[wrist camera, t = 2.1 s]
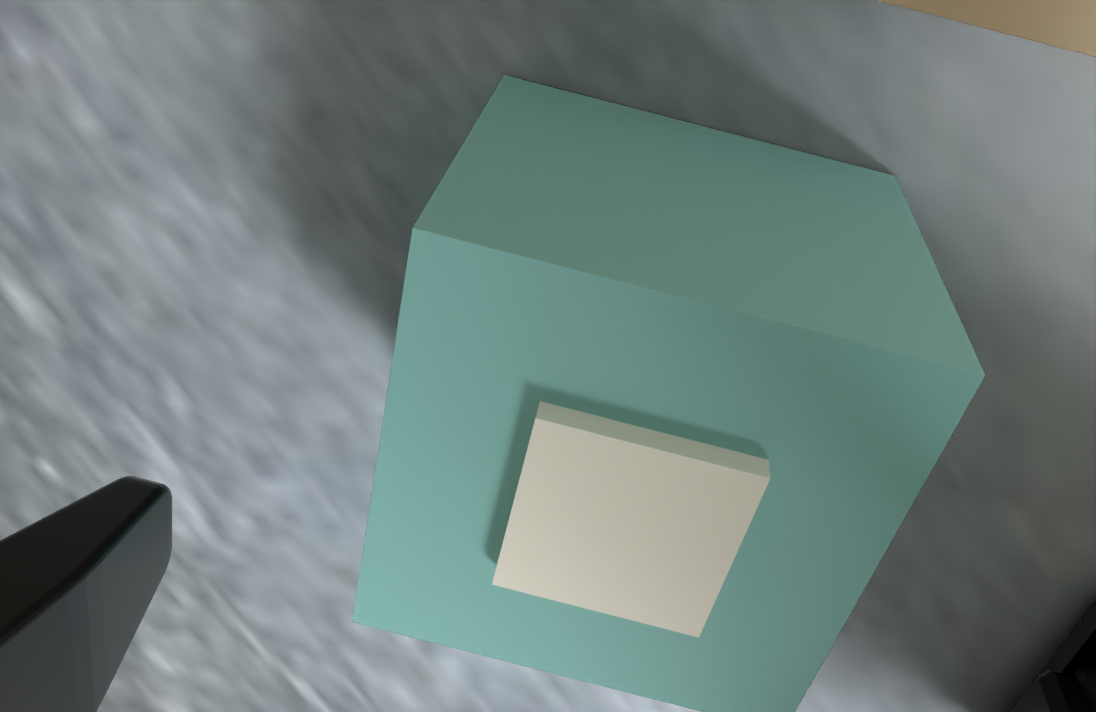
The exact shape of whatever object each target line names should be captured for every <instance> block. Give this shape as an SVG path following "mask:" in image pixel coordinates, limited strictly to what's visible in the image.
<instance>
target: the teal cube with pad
mask: <svg viewBox="0 0 1096 712" xmlns="http://www.w3.org/2000/svg"><path fill="white" fill-rule="evenodd" d="M985 376H986V375H985V373H984V371H983V369H982V366H981V364H980V362H979V360H978V357H977V355H976V353H975V351H974V349H973V346H972V344H971V342H970V340H969V337H968V335H967V333H966V331H965V329H964V326H963V324H962V322H961V320H960V318H959V315H958V313H957V311H956V309H955V306H954V304H953V302H952V300H951V298H950V295H949V293H948V291H947V289H946V286H945V284H944V282H943V280H942V278H941V275H940V273H939V271H938V269H937V266H936V264H935V262H934V260H933V258H932V255H931V253H930V251H929V249H928V246H927V244H926V242H925V240H924V238H923V235H922V233H921V231H920V229H919V226H918V224H917V222H916V220H915V218H914V215H913V213H912V211H911V209H910V207H909V204H908V202H907V200H906V198H905V195H904V193H903V191H902V189H901V187H900V184H899V182H898V180H897V178H896V176H894V175H890V174H887V173H883V172H879V171H875V170H871V169H867V168H863V167H859V166H856V165H852V164H848V163H844V162H840V161H836V160H832V159H828V158H825V157H821V156H817V155H813V154H809V153H805V152H801V151H797V150H794V149H790V148H786V147H782V146H778V145H774V144H770V143H766V142H763V141H759V140H755V139H751V138H747V137H743V136H739V135H735V134H732V133H728V132H724V131H720V130H716V129H712V128H708V127H705V126H701V125H697V124H693V123H689V122H685V121H681V120H677V119H674V118H670V117H666V116H662V115H658V114H654V113H650V112H646V111H643V110H639V109H635V108H631V107H627V106H623V105H619V104H615V103H612V102H608V101H604V100H600V99H596V98H592V97H588V96H584V95H581V94H577V93H573V92H569V91H565V90H561V89H557V88H553V87H550V86H546V85H542V84H538V83H534V82H530V81H526V80H522V79H519V78H515V77H511V76H507V75H504V76H503V78H502V79H501V81H500V83H499V84H498V86H497V88H496V89H495V91H494V93H493V94H492V96H491V98H490V99H489V101H488V103H487V104H486V106H485V108H484V109H483V111H482V113H481V114H480V116H479V118H478V119H477V121H476V123H475V124H474V126H473V128H472V129H471V131H470V133H469V134H468V136H467V138H466V139H465V141H464V143H463V144H462V146H461V148H460V149H459V151H458V153H457V154H456V156H455V158H454V159H453V161H452V163H451V164H450V166H449V168H448V169H447V171H446V173H445V174H444V176H443V178H442V179H441V181H440V183H439V184H438V186H437V188H436V189H435V191H434V193H433V194H432V196H431V198H430V199H429V201H428V203H427V204H426V206H425V208H424V209H423V211H422V213H421V214H420V216H419V218H418V219H417V221H416V223H415V224H414V226H413V228H412V234H411V241H410V247H409V254H408V260H407V267H406V273H405V280H404V286H403V293H402V299H401V306H400V312H399V319H398V325H397V332H396V339H395V345H394V352H393V358H392V365H391V371H390V378H389V384H388V391H387V397H386V404H385V410H384V417H383V423H382V430H381V436H380V443H379V450H378V456H377V463H376V469H375V476H374V482H373V489H372V495H371V502H370V508H369V515H368V521H367V528H366V534H365V541H364V547H363V554H362V561H361V567H360V574H359V580H358V587H357V593H356V600H355V606H354V613H353V619H352V622H354V623H358V624H362V625H366V626H370V627H374V628H378V629H382V630H386V631H390V632H394V633H397V634H401V635H405V636H409V637H413V638H417V639H421V640H425V641H429V642H433V643H437V644H440V645H444V646H448V647H452V648H456V649H460V650H464V651H468V652H472V653H476V654H479V655H483V656H487V657H491V658H495V659H499V660H503V661H507V662H511V663H515V664H519V665H522V666H526V667H530V668H534V669H538V670H542V671H546V672H550V673H554V674H558V675H561V676H565V677H569V678H573V679H577V680H581V681H585V682H589V683H593V684H597V685H601V686H604V687H608V688H612V689H616V690H620V691H624V692H628V693H632V694H636V695H640V696H643V697H647V698H651V699H655V700H659V701H663V702H667V703H671V704H675V705H679V706H683V707H686V708H690V709H694V710H698V711H702V712H795V711H796V709H797V707H798V705H799V704H800V702H801V700H802V698H803V697H804V695H805V693H806V691H807V690H808V688H809V686H810V684H811V683H812V681H813V679H814V677H815V675H816V674H817V672H818V670H819V668H820V667H821V665H822V663H823V661H824V660H825V658H826V656H827V654H828V653H829V651H830V649H831V647H832V645H833V644H834V642H835V640H836V638H837V637H838V635H839V633H840V631H841V630H842V628H843V626H844V624H845V623H846V621H847V619H848V617H849V615H850V614H851V612H852V610H853V608H854V607H855V605H856V603H857V601H858V600H859V598H860V596H861V594H862V593H863V591H864V589H865V587H866V585H867V584H868V582H869V580H870V578H871V577H872V575H873V573H874V571H875V570H876V568H877V566H878V564H879V563H880V561H881V559H882V557H883V556H884V554H885V552H886V550H887V548H888V547H889V545H890V543H891V541H892V540H893V538H894V536H895V534H896V533H897V531H898V529H899V527H900V526H901V524H902V522H903V520H904V518H905V517H906V515H907V513H908V511H909V510H910V508H911V506H912V504H913V503H914V501H915V499H916V497H917V496H918V494H919V492H920V490H921V488H922V487H923V485H924V483H925V481H926V480H927V478H928V476H929V474H930V473H931V471H932V469H933V467H934V466H935V464H936V462H937V460H938V458H939V457H940V455H941V453H942V451H943V450H944V448H945V446H946V444H947V443H948V441H949V439H950V437H951V436H952V434H953V432H954V430H955V428H956V427H957V425H958V423H959V421H960V420H961V418H962V416H963V414H964V413H965V411H966V409H967V407H968V406H969V404H970V402H971V400H972V398H973V397H974V395H975V393H976V391H977V390H978V388H979V386H980V384H981V383H982V381H983V379H984V377H985Z"/></svg>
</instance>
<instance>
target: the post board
mask: <svg viewBox="0 0 1096 712" xmlns="http://www.w3.org/2000/svg"><path fill="white" fill-rule="evenodd" d="M878 1H882V2H885V3H889V4H893V5H897V6H901V7H905V8H909V9H912V10H916V11H920V12H924V13H928V14H932V15H936V16H939V17H943V18H947V19H951V20H955V21H959V22H963V23H967V24H970V25H974V26H978V27H982V28H986V29H990V30H994V31H997V32H1001V33H1005V34H1009V35H1013V36H1017V37H1021V38H1025V39H1028V40H1032V41H1036V42H1040V43H1044V44H1048V45H1052V46H1055V47H1059V48H1063V49H1067V50H1071V51H1075V52H1079V53H1083V54H1086V55H1090V56H1094V57H1096V0H878Z"/></svg>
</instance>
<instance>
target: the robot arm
mask: <svg viewBox="0 0 1096 712" xmlns="http://www.w3.org/2000/svg"><path fill="white" fill-rule="evenodd" d="M171 550H172V495H171V491H170V489H169V488H168V487H167V486H166V485H164V484H161V483H157V482H153V481H149V480H146V479H142V478H138V477H134V476H127V477H123V478H120V479H118V480H116V481H114V482H112V483H110V484H108V485H106V486H104V487H102V488H100V489H98V490H96V491H95V492H93V493H91V494H89V495H87V496H85V497H83V498H81V499H79V500H77V501H75V502H73V503H72V504H70V505H68V506H66V507H64V508H62V509H60V510H58V511H56V512H54V513H52V514H50V515H48V516H47V517H45V518H43V519H41V520H39V521H37V522H35V523H33V524H31V525H29V526H27V527H25V528H24V529H22V530H20V531H18V532H16V533H14V534H12V535H10V536H8V537H6V538H4V539H2V540H0V712H97V710H98V708H99V706H100V704H101V702H102V700H103V698H104V696H105V694H106V692H107V690H108V688H109V686H110V684H111V682H112V680H113V678H114V676H115V674H116V672H117V670H118V668H119V665H120V663H121V661H122V659H123V657H124V655H125V653H126V651H127V649H128V647H129V645H130V643H131V641H132V639H133V637H134V635H135V633H136V631H137V629H138V626H139V624H140V622H141V620H142V618H143V616H144V614H145V612H146V610H147V608H148V606H149V604H150V602H151V600H152V598H153V596H154V594H155V592H156V589H157V587H158V585H159V583H160V581H161V579H162V577H163V575H164V573H165V571H166V568H167V566H168V563H169V559H170V556H171ZM1010 712H1096V600H1095V602H1094V603H1093V604H1092V605H1091V607H1090V608H1089V609H1088V611H1087V612H1086V613H1085V615H1084V616H1083V617H1082V619H1081V620H1080V621H1079V623H1078V624H1077V625H1076V626H1075V628H1074V629H1073V630H1072V632H1071V633H1070V634H1069V636H1068V637H1067V638H1066V640H1065V641H1064V642H1063V644H1062V645H1061V646H1060V647H1059V649H1058V650H1057V651H1056V653H1055V654H1054V655H1053V657H1052V658H1051V659H1050V661H1049V662H1048V663H1047V665H1046V666H1045V667H1044V668H1043V670H1042V671H1041V672H1040V674H1039V675H1038V676H1037V678H1036V679H1035V680H1034V681H1033V683H1032V684H1031V685H1030V686H1029V688H1028V689H1027V690H1026V692H1025V693H1024V694H1023V696H1022V697H1021V698H1020V700H1019V701H1018V702H1017V704H1016V705H1015V706H1014V707H1013V709H1012V710H1011V711H1010Z"/></svg>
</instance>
